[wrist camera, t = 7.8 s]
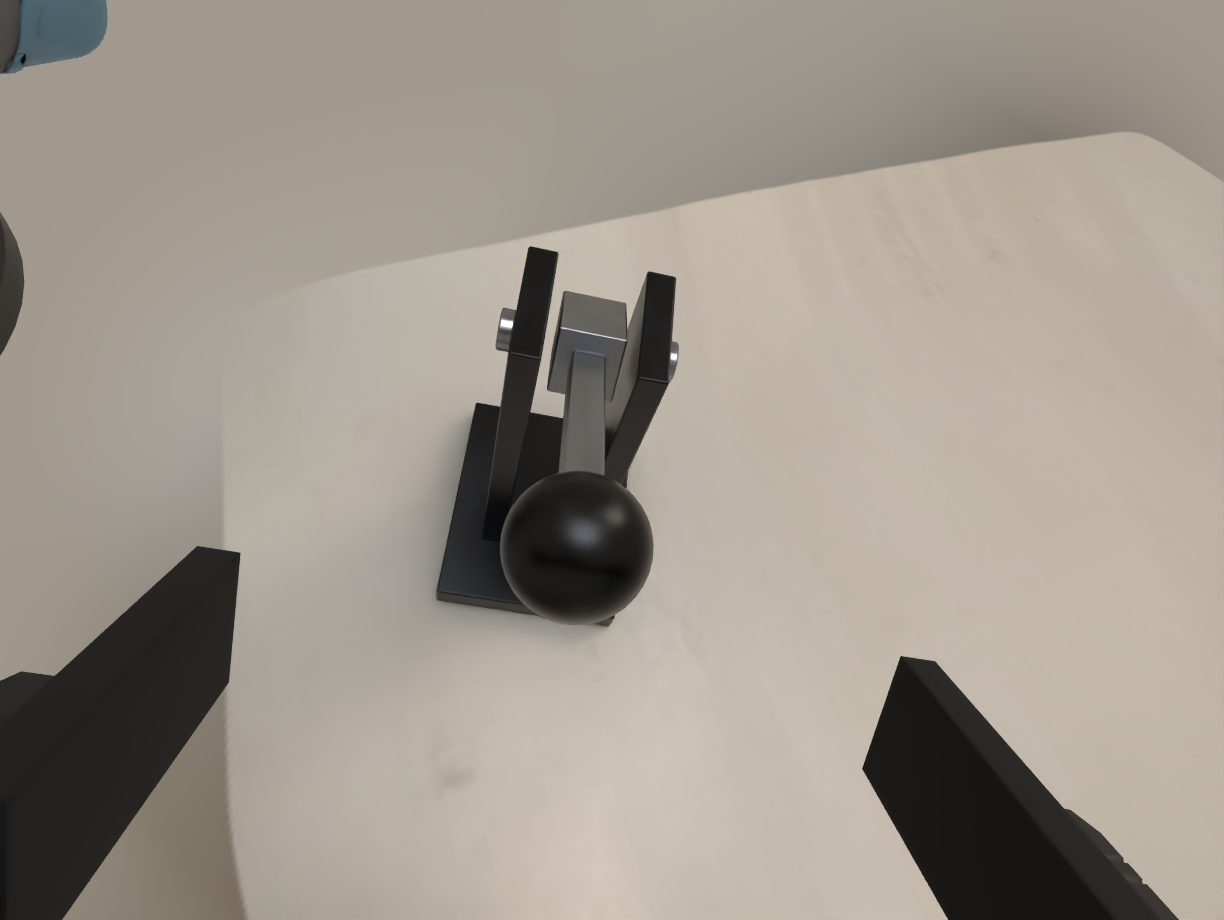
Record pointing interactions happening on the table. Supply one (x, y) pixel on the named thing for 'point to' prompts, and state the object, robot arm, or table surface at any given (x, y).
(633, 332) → the switch bracket
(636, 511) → the switch lever
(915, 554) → the table surface
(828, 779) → the table surface
